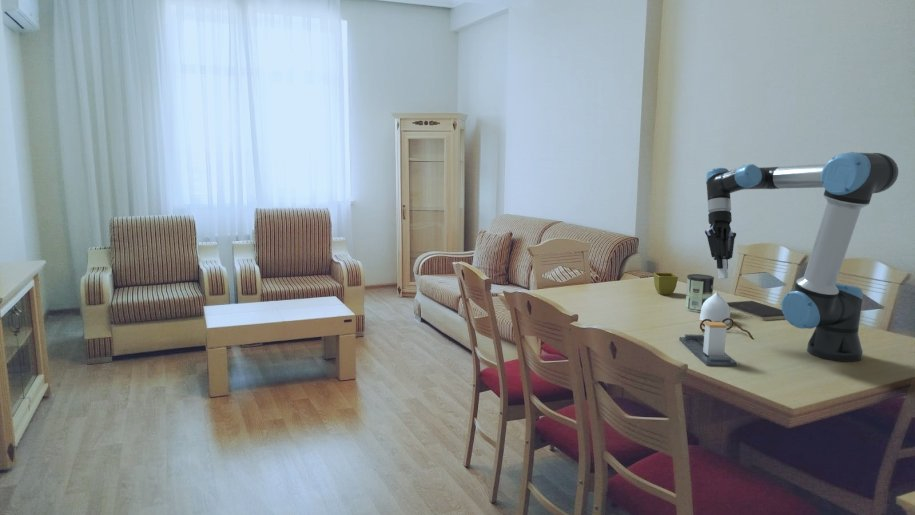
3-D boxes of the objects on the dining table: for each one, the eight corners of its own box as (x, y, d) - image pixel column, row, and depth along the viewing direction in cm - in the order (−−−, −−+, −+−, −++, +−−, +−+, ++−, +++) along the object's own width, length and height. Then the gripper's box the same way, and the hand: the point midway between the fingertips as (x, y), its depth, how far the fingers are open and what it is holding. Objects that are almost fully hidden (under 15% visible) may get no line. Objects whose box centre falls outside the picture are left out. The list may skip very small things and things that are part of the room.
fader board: (679, 340, 212) (679, 333, 212) (705, 340, 212) (706, 334, 212) (706, 365, 187) (707, 357, 186) (736, 366, 186) (737, 358, 186)
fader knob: (702, 351, 195) (705, 321, 194) (719, 351, 195) (721, 321, 194) (707, 355, 191) (709, 325, 190) (724, 355, 191) (726, 325, 190)
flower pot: (677, 295, 282) (678, 276, 280) (657, 295, 282) (659, 276, 280) (670, 291, 290) (672, 273, 289) (652, 291, 290) (653, 272, 289)
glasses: (731, 330, 227) (732, 317, 226) (754, 340, 214) (755, 326, 214) (698, 331, 225) (699, 318, 224) (719, 342, 212) (720, 328, 211)
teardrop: (697, 316, 246) (699, 286, 244) (726, 317, 244) (729, 288, 242) (702, 323, 235) (704, 292, 233) (733, 325, 233) (735, 294, 231)
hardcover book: (761, 322, 240) (762, 316, 240) (721, 308, 262) (721, 302, 261) (795, 319, 244) (795, 313, 244) (752, 305, 266) (753, 300, 266)
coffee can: (708, 307, 260) (711, 274, 258) (713, 313, 250) (716, 279, 248) (683, 306, 262) (685, 273, 260) (687, 311, 252) (689, 278, 250)
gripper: (724, 216, 225) (727, 280, 221) (697, 212, 219) (700, 278, 215) (741, 212, 218) (745, 278, 214) (714, 207, 213) (718, 275, 209)
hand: (723, 278), depth 215 cm, fingers closed
